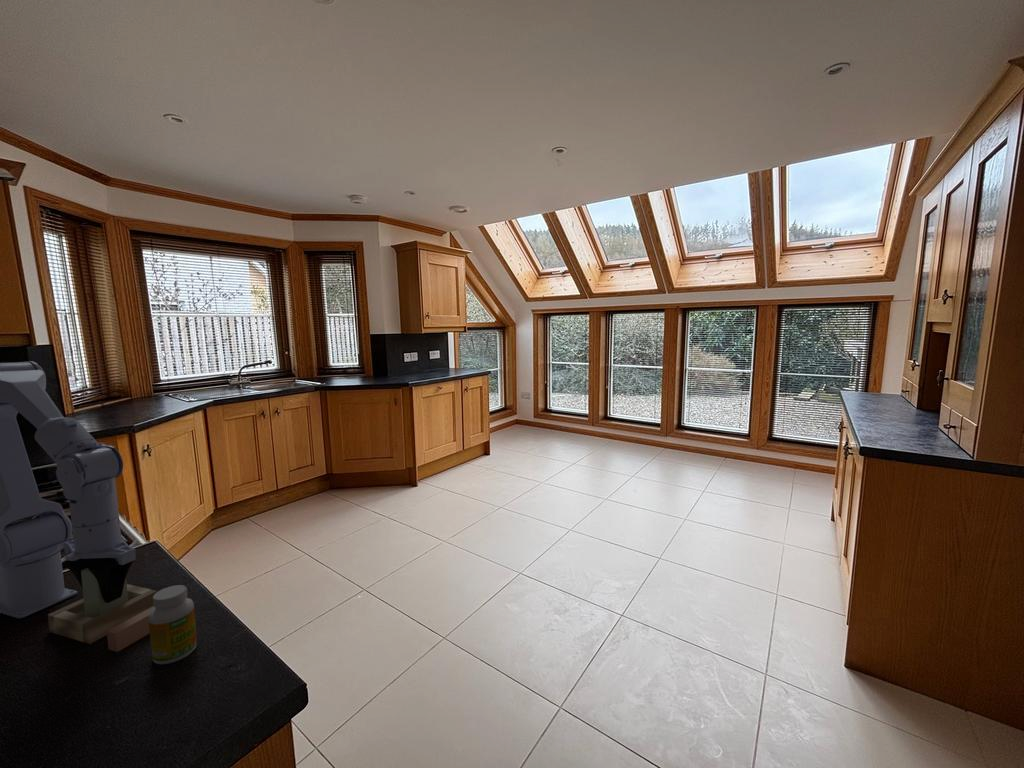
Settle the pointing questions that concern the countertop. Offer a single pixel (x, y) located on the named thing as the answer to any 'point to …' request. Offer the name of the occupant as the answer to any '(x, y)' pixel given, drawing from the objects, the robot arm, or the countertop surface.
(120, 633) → the stop wall
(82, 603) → the collar block
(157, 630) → the supplement bottle
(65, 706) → the countertop surface
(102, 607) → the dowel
